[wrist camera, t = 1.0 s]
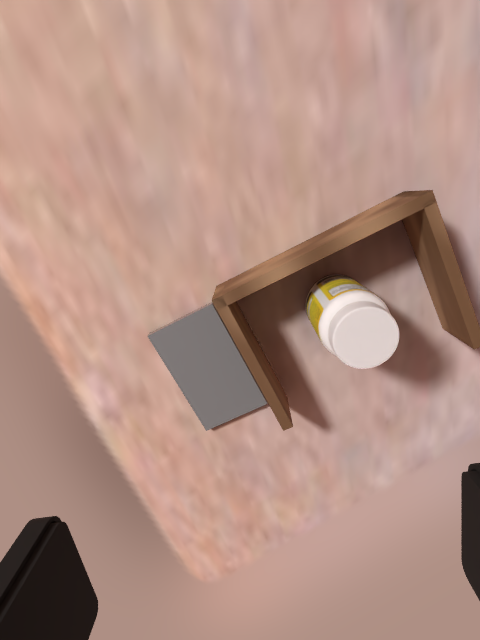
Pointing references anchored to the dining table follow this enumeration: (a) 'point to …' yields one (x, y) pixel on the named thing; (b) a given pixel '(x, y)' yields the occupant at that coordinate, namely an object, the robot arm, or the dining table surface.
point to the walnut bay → (406, 206)
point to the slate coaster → (208, 366)
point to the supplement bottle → (352, 322)
